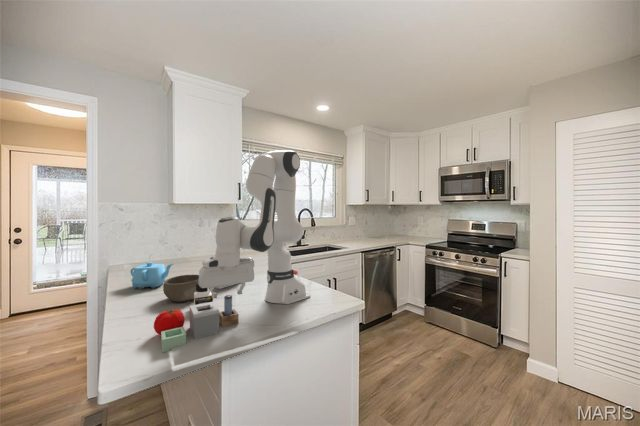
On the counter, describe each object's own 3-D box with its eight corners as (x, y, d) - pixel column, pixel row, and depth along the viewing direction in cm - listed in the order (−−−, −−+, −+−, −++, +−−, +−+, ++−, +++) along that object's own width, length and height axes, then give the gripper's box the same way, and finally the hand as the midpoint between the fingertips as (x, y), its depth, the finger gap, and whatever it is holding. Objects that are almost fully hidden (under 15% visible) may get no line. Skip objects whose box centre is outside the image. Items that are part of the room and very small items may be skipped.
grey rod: (230, 320, 105) (230, 294, 105) (233, 322, 103) (233, 296, 102) (223, 321, 103) (223, 295, 103) (225, 324, 101) (225, 298, 101)
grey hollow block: (212, 324, 103) (212, 301, 102) (219, 335, 94) (219, 310, 94) (189, 330, 98) (189, 305, 98) (194, 341, 90) (194, 315, 90)
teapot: (138, 293, 139) (138, 267, 139) (126, 286, 149) (126, 262, 149) (174, 285, 154) (174, 261, 153) (162, 279, 164) (162, 257, 163)
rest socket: (183, 338, 92) (183, 326, 92) (186, 346, 87) (186, 334, 87) (161, 343, 89) (161, 331, 89) (162, 352, 83) (162, 339, 83)
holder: (233, 320, 107) (233, 308, 107) (238, 325, 102) (238, 314, 102) (218, 323, 104) (218, 312, 104) (222, 329, 99) (222, 317, 99)
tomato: (148, 340, 90) (148, 316, 90) (164, 327, 101) (164, 305, 100) (177, 340, 91) (176, 315, 91) (190, 326, 101) (189, 304, 101)
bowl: (155, 301, 128) (155, 280, 127) (189, 290, 143) (189, 272, 143) (178, 307, 120) (178, 285, 119) (211, 296, 135) (211, 276, 135)
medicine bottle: (194, 314, 113) (194, 285, 113) (194, 308, 119) (194, 281, 119) (213, 311, 116) (213, 283, 116) (211, 305, 122) (211, 279, 122)
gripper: (251, 256, 111) (251, 289, 111) (197, 260, 99) (197, 298, 99) (257, 258, 105) (256, 293, 105) (200, 263, 94) (200, 303, 94)
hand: (227, 296), depth 102 cm, fingers open, 8 cm apart
